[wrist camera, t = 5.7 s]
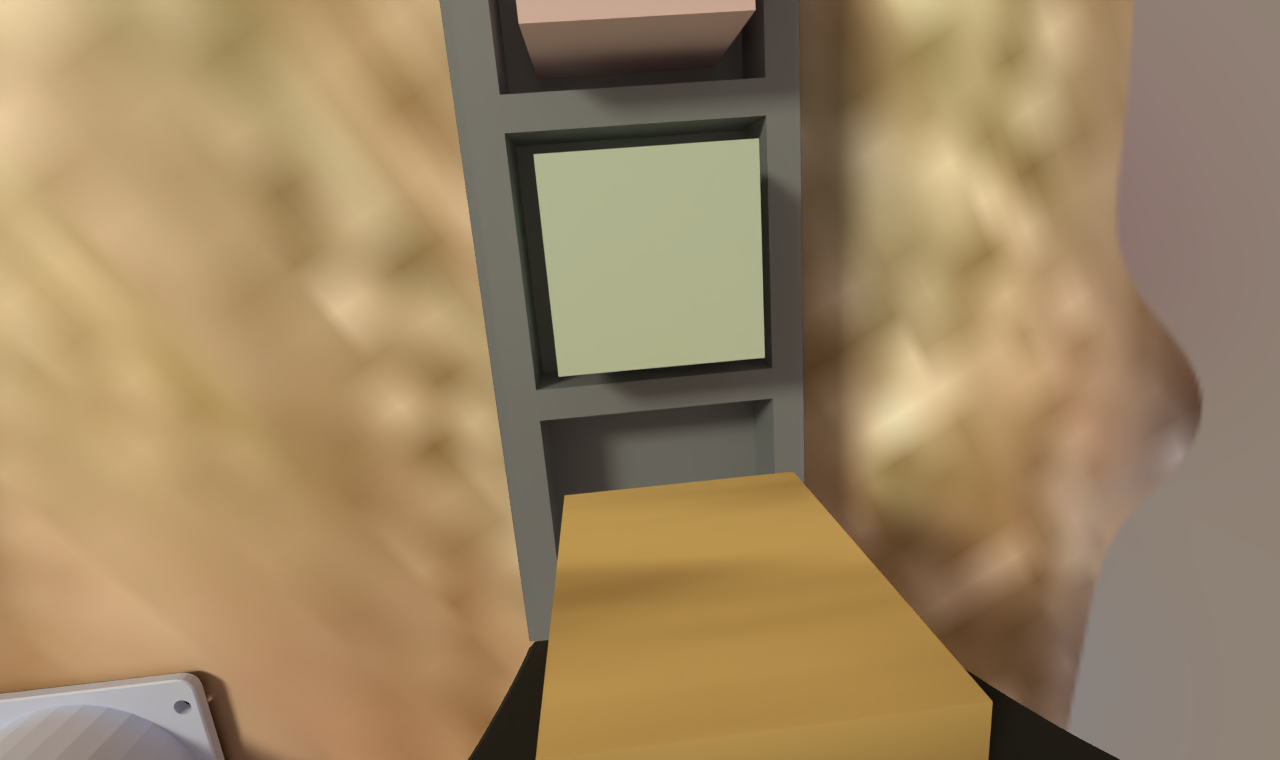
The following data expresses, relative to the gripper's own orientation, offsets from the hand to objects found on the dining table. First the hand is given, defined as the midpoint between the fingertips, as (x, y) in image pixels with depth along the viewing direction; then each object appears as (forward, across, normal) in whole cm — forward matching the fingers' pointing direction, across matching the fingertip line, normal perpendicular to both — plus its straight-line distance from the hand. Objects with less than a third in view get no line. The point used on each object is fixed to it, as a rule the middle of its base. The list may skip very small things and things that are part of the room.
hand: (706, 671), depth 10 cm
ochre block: (+2, 0, 0) cm, 2 cm away
